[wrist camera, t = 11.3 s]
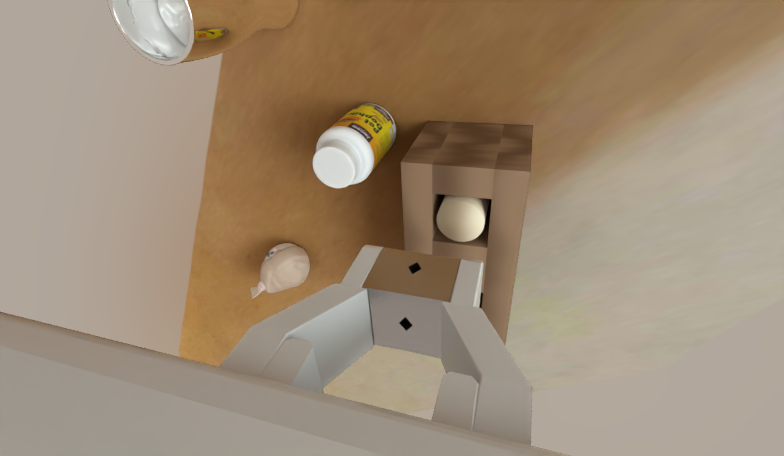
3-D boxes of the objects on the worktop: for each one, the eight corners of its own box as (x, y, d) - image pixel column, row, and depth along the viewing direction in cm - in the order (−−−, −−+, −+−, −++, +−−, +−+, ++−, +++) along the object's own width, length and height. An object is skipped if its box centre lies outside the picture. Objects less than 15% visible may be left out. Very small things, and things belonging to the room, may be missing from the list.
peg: (496, 158, 39) (486, 203, 32) (492, 194, 42) (482, 244, 34) (455, 155, 40) (436, 199, 33) (453, 190, 43) (436, 238, 36)
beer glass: (224, -25, 39) (84, -14, 27) (275, -69, 35) (140, -78, 23) (266, 46, 41) (155, 85, 29) (317, 12, 38) (215, 39, 26)
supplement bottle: (403, 110, 41) (369, 150, 33) (391, 158, 44) (357, 205, 36) (352, 93, 41) (306, 128, 33) (344, 142, 45) (301, 185, 37)
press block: (532, 125, 38) (530, 171, 30) (510, 286, 49) (504, 351, 41) (428, 120, 41) (400, 162, 33) (429, 274, 52) (408, 333, 44)
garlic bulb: (270, 232, 56) (236, 268, 50) (312, 237, 54) (282, 275, 48) (281, 269, 59) (251, 307, 53) (321, 275, 58) (294, 315, 51)
